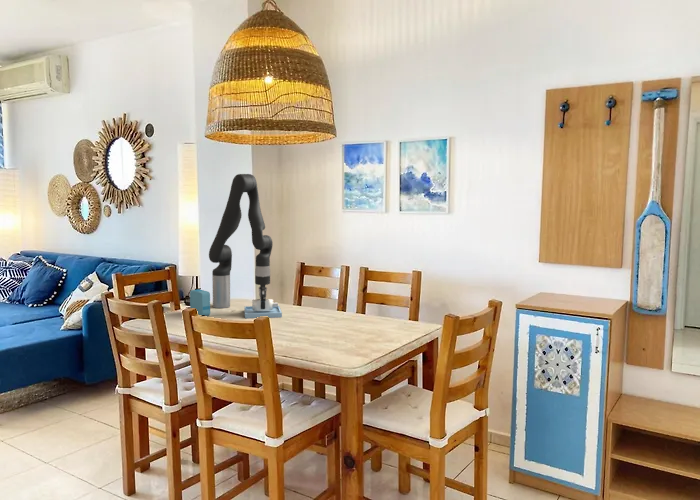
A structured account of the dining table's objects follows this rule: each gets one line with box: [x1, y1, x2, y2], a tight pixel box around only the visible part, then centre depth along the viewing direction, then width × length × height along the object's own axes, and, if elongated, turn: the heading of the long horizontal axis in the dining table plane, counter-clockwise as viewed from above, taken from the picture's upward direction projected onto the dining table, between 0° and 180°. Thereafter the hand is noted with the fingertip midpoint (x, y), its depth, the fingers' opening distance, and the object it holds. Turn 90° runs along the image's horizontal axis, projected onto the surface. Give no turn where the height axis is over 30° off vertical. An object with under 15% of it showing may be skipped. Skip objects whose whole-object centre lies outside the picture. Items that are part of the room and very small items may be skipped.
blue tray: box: [243, 305, 283, 319], centre depth 277 cm, size 18×18×2 cm
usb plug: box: [251, 298, 279, 311], centre depth 276 cm, size 13×4×5 cm, turn 102°
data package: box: [189, 288, 211, 317], centre depth 273 cm, size 12×4×12 cm, turn 45°
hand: (262, 307), depth 276 cm, fingers closed on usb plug, 4 cm apart
